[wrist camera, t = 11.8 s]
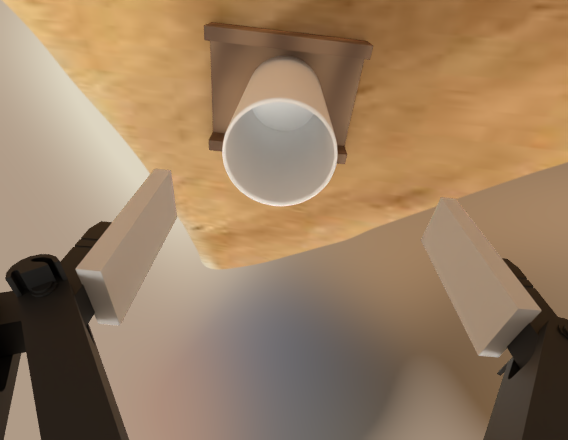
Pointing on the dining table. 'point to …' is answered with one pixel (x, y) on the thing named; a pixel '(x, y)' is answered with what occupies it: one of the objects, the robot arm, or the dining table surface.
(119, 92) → the dining table surface
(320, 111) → the cup
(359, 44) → the brown wooden tray
